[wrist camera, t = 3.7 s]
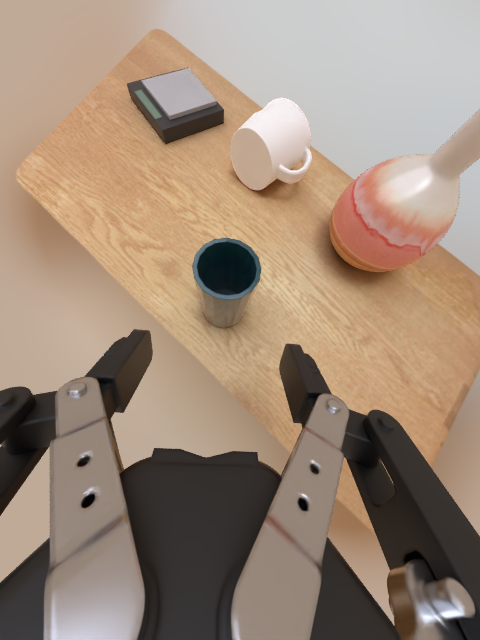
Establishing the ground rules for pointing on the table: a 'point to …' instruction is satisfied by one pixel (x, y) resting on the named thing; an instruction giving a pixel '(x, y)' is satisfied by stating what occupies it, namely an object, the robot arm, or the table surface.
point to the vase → (403, 204)
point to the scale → (176, 104)
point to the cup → (225, 280)
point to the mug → (272, 145)
